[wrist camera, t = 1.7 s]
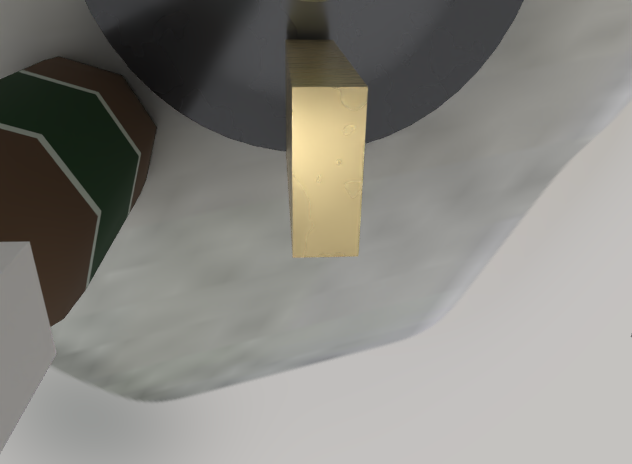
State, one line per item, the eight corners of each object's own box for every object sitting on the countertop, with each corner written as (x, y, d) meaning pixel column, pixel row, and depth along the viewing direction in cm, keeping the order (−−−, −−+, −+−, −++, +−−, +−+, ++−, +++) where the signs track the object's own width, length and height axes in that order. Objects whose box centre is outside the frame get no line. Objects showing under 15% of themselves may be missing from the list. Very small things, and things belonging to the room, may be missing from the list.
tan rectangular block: (285, 39, 25) (292, 86, 16) (332, 39, 25) (368, 86, 16) (286, 156, 27) (292, 257, 18) (329, 155, 28) (358, 256, 18)
